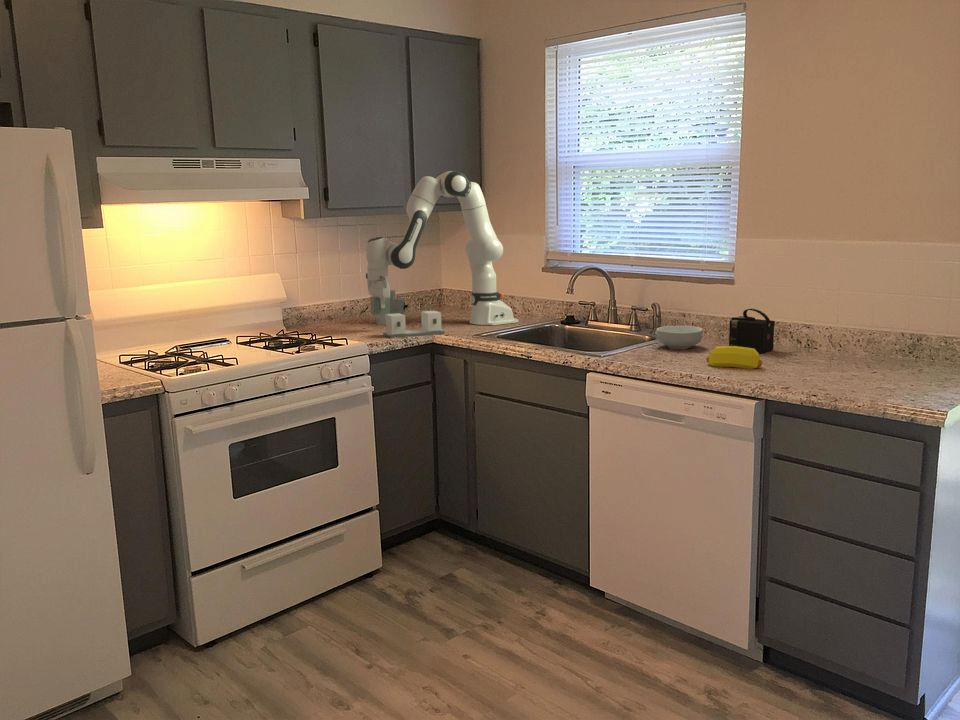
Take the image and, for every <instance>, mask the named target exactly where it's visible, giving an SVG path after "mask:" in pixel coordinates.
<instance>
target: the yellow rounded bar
mask: <svg viewBox="0 0 960 720" xmlns="http://www.w3.org/2000/svg"><path fill="white" fill-rule="evenodd" d="M705 360H706V363H707V364H708V365H710V366H711V367H719V368H730V367H731V368H736V369H737V368H739V369H746V370H747V369H748V370H754V369H757V368H759V367H762V365H763V364H764V363H763V360H762V359H760V353H758V352H757V351H756V350H755V349H754V348H746V347H738V346H729V345H723V346H721V345H720V346H719V345H718V346H715V347H714V348H713V349H712V350H711V351H710V352H709V356H707V357H706V359H705Z"/></svg>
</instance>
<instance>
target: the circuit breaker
mask: <svg viewBox="0 0 960 720" xmlns="http://www.w3.org/2000/svg"><path fill="white" fill-rule="evenodd" d="M405 301H406V299H405V297H396V289H390V298H389V303H390V314H395V313H400V314H403V315H405V314H406V309H407V308H409V304H406V302H405ZM375 319H376V320H375V322H376V323H375V324H377V325H386V318H385V314H380V315H375Z"/></svg>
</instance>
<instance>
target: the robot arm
mask: <svg viewBox="0 0 960 720" xmlns="http://www.w3.org/2000/svg"><path fill="white" fill-rule="evenodd" d="M482 191H483V190H482V188H481V186H480V184H479V183H477V182H474V181H470V180H469V179H468V178H467V176H466V175H465V173H463V172H461V171H458V170H448V171H446V172H442V173H439V174H437V175H436V176H435V177H433V176H429V175H425V176H422V178H420V180H419V181H418V183H416V185H415V186H414V189H413V191H412V193H411V194H410V196H409V198H408V201H407V203H406V208H405V211H406V214H407V217H408V219H409V223H408V226H407V228H406V231H405V234H404V236H403V238H402V241H400V243H395V242H393V241H390V240H389V239H386V238H385V237H384V236H377V237H373V238H370V239H368V241H367V242H366V248H365V251H366V254H365V255H366V261H367V269H366V270H367V272H366V273H365V279H366V284H367V290H368V294H369V295H370V296H371V297H372V296H375V297H378V298H380V308H385V301H386V299H388V298H390V290H391V288H390V282H389V266H392V267H396V268H398V269H401V270H402V269H403V270H406V269H408V268H410V267H411V266H413V264H414V263H415V259H416V251H417V246H418V244H419V240H420V238H421V235H422V234H423V231H424V228H425V226H426V223H427V221H428V219H429V217H430V215H431V214H432V211H433V209H434V207H435V205H436V202H437V201H438V199H439V198H440V197H442V198H455V197H456V198H457V199H458V202H459V204H460V208H461V212H462V216H463V221H464V225H465V228H466V230H467V231H468V232H469V234H470V236H471V238H470V239H469V240H468V241H466V243H465V247H464V250H465V254H466V255H467V258H468V262H469V266H470V271H471V282H472V283H471V284H472V285H471V289H472V292H471V296H470V298H471V314H470V319H469V324H472V325H478V326H479V325H480V326H481V325H482V326H483V325H484V326H485V325H487V326H498V325H507V324H513V323H514V324H516V323H518V322H519V319H517V318H516V317H514V312H513V309H512V308H511V306H508V304H506V303H505V302H504V301H503V300H501V298H504V296H505V293H503V292H498V291H497V287H498V286H497V273H496V272H495V269H494V265H493V262H496V261H499V259H501V257H503V254H504V246H503V244H502V242H501V241H500V240H499V239H498V236H497V234H496V232H495V230H494V228H493V224H492V223H491V220H490V215H489V211H488V208H487V203H486V199H485V196H484V193H483V192H482Z"/></svg>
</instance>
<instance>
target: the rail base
mask: <svg viewBox="0 0 960 720" xmlns="http://www.w3.org/2000/svg"><path fill="white" fill-rule="evenodd" d="M420 313H421V314H420V315H421V317H420V320H421V328H420V329H419V328H418V329H406V327H407V326H406V315H405V314H404V315H403V314H400V313H395V314H385V318H386V324H385V331H384V332H383V333H382V335H383V336H384V335H385V336H384V337H387V338H389V337H390V338H389V339H395V338H394V337H400V338H405V337H404V336H412V337H421V336H432V335H445V334H446V333H445V332H446V331H444V329H442V328H443V327H442V312H441V311H436V310H428V311H427V310H424V311H421V312H420ZM444 333H445V334H444Z"/></svg>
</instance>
